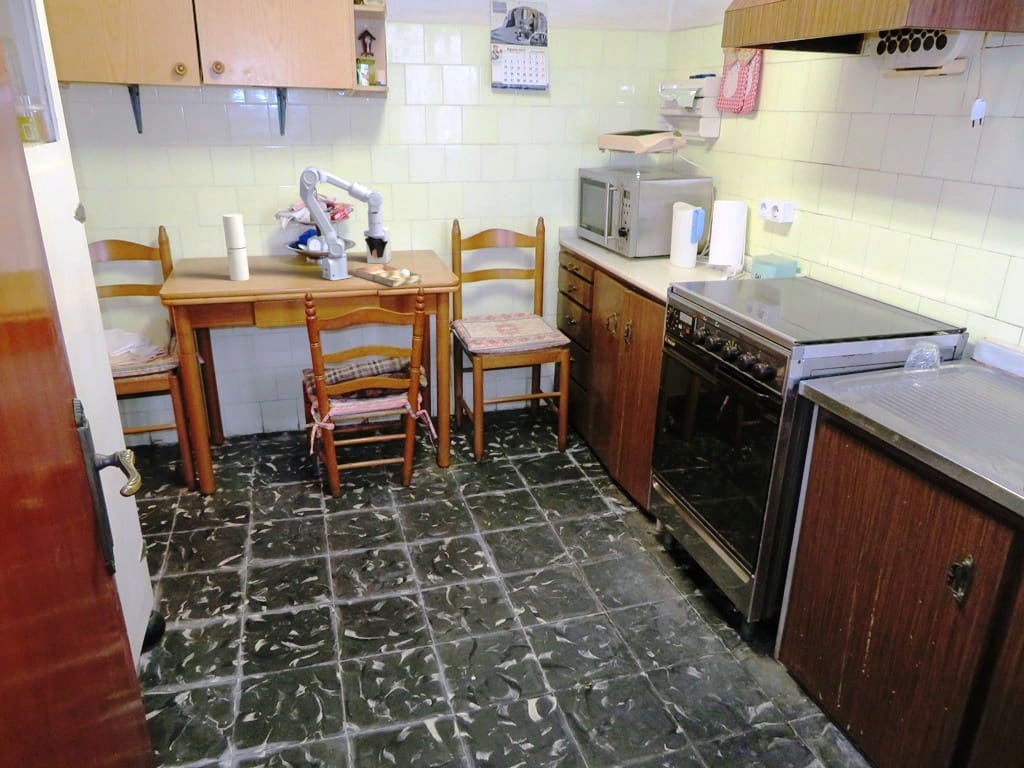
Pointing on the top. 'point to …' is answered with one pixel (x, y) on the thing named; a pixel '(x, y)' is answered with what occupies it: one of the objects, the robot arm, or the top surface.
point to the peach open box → (374, 271)
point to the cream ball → (404, 273)
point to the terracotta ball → (375, 254)
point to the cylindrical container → (236, 247)
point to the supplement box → (387, 250)
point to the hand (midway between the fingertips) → (377, 256)
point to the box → (396, 278)
